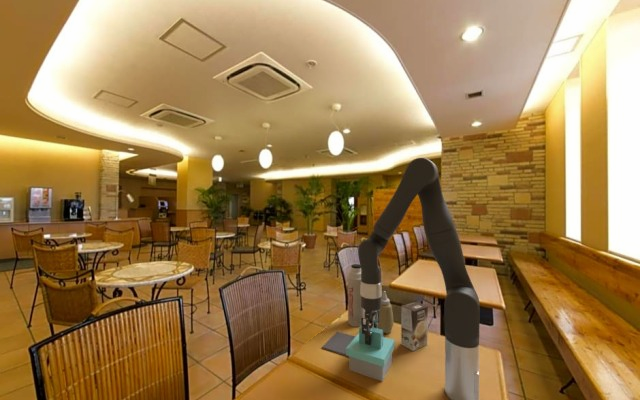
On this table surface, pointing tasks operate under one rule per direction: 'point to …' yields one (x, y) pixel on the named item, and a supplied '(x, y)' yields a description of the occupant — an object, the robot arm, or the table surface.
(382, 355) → the lid
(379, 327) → the squeeze bottle
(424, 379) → the table surface
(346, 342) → the rubber mat
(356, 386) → the table surface
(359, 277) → the thermos bottle
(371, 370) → the storage box
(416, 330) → the coffee box
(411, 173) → the robot arm
